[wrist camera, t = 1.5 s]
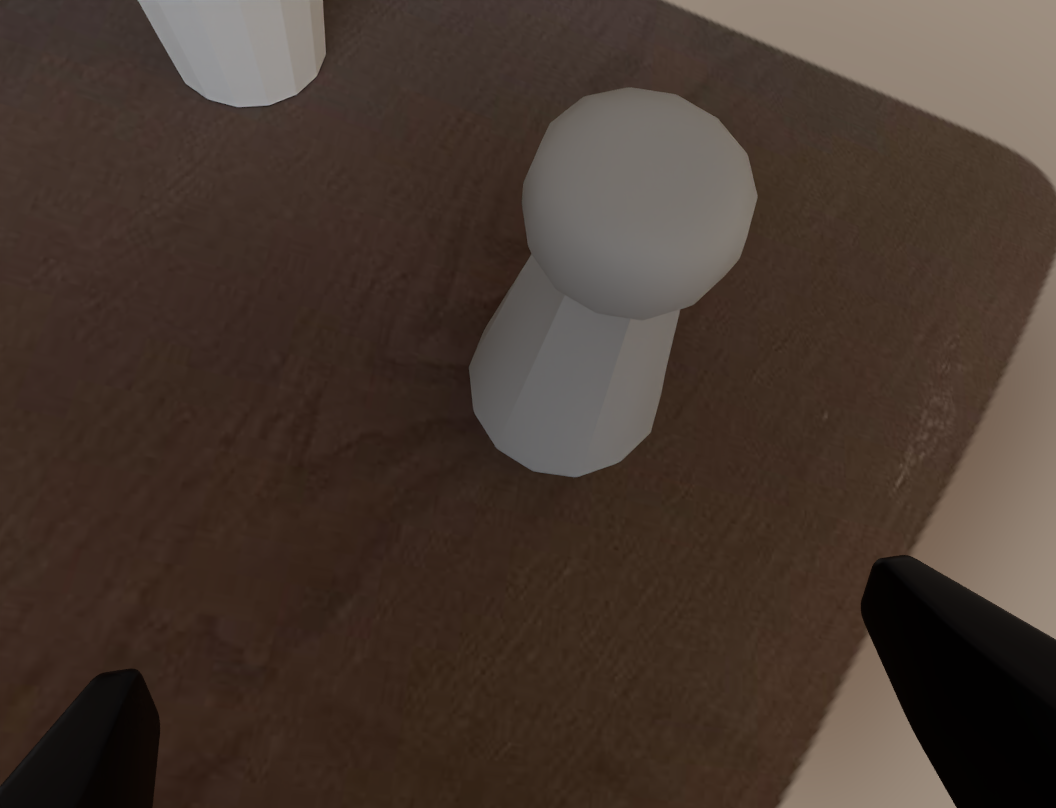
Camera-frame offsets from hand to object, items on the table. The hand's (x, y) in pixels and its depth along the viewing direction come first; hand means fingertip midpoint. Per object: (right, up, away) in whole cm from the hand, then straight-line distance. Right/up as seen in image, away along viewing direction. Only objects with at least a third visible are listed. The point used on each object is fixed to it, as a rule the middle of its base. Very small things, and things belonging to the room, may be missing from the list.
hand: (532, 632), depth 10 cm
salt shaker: (+1, +3, +16) cm, 17 cm away
